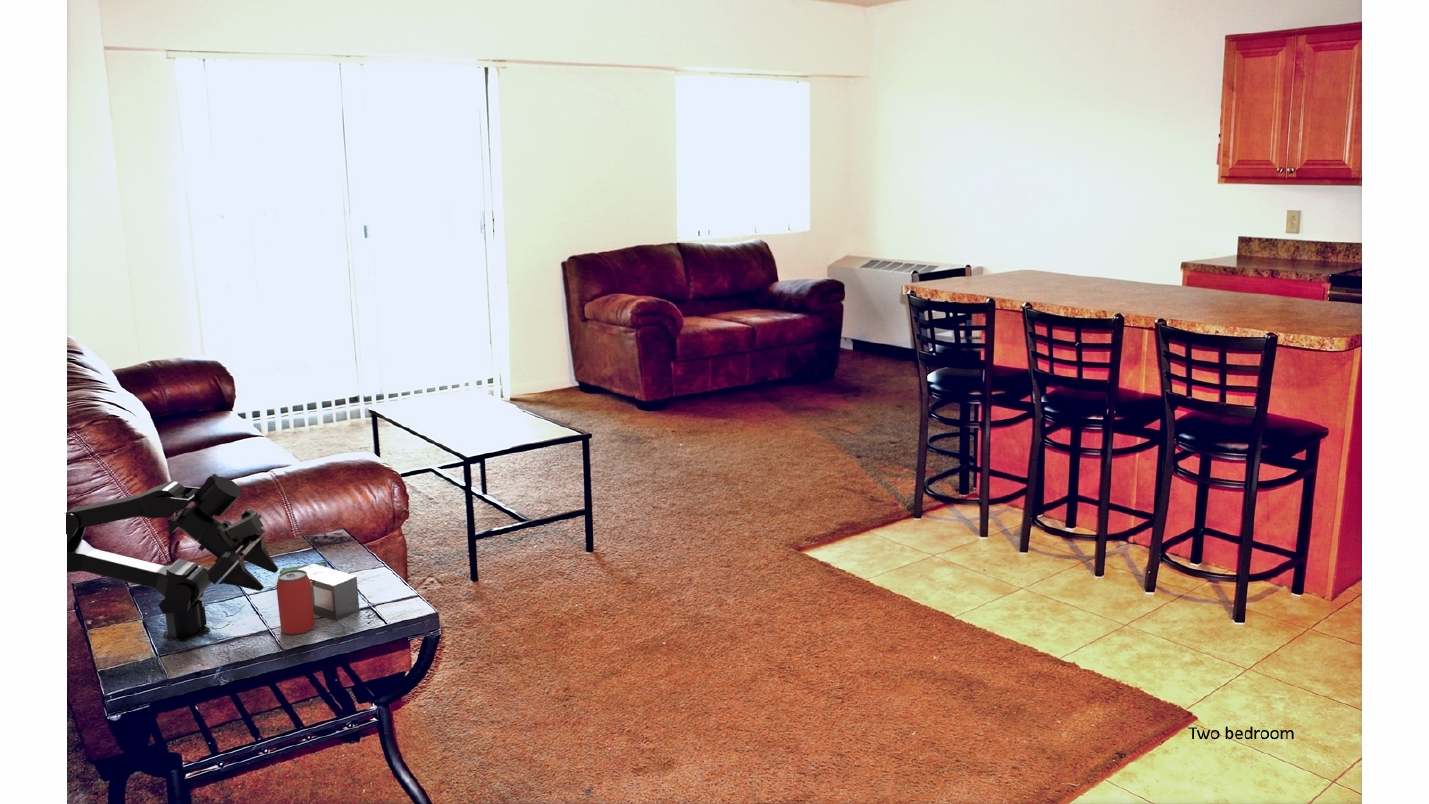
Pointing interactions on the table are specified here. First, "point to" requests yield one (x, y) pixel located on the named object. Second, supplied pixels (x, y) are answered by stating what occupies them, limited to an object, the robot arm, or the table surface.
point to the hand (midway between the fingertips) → (269, 580)
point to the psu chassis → (332, 592)
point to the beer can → (295, 602)
